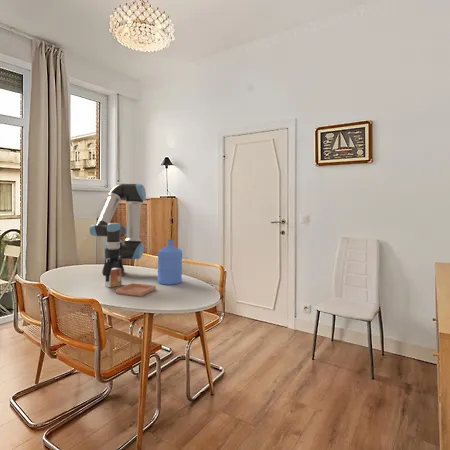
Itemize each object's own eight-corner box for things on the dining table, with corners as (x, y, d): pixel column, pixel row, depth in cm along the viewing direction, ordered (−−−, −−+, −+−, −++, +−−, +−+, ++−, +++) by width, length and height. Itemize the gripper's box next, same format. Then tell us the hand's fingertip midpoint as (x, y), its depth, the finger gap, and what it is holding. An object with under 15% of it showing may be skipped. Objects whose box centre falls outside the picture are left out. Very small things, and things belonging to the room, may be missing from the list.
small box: (110, 287, 197) (110, 270, 196) (105, 286, 200) (105, 269, 199) (121, 285, 203) (121, 268, 202) (116, 283, 206) (116, 267, 206)
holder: (132, 287, 200) (132, 282, 199) (155, 289, 195) (155, 285, 195) (116, 293, 184) (116, 289, 184) (141, 296, 180) (141, 292, 179)
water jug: (177, 285, 205) (177, 241, 203) (153, 284, 208) (154, 240, 206) (185, 280, 220) (185, 238, 218) (163, 278, 223) (163, 237, 222)
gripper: (107, 251, 188) (107, 289, 190) (129, 246, 209) (129, 281, 211) (96, 250, 191) (96, 288, 192) (119, 245, 211) (119, 280, 213)
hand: (113, 284), depth 201 cm, fingers closed on small box, 9 cm apart
